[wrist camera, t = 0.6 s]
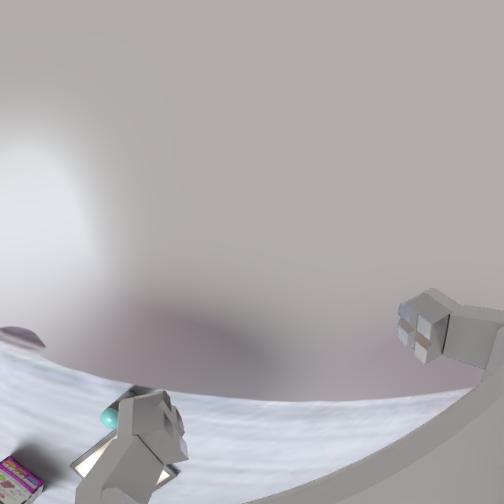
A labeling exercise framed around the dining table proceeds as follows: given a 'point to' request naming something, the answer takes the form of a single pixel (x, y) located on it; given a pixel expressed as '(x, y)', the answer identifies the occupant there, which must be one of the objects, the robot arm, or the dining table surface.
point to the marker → (114, 411)
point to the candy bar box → (18, 483)
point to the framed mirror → (94, 453)
